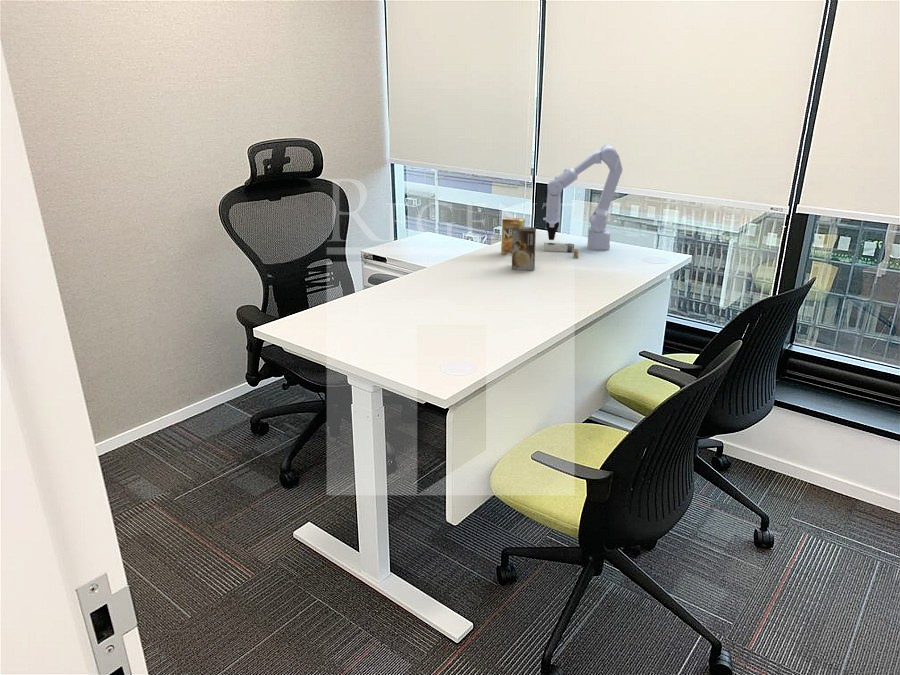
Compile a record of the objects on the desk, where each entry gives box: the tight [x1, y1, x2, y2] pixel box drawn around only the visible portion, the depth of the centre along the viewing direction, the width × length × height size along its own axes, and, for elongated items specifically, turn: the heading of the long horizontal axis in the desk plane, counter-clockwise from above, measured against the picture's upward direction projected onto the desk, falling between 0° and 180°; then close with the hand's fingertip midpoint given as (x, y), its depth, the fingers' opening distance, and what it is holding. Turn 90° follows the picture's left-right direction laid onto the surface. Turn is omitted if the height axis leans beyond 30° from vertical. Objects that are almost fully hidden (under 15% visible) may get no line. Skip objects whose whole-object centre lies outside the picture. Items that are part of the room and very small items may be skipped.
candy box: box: [500, 216, 526, 255], centre depth 300 cm, size 9×4×15 cm, turn 70°
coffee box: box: [511, 226, 537, 271], centre depth 282 cm, size 9×6×16 cm
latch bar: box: [543, 242, 575, 253], centre depth 302 cm, size 13×4×3 cm, turn 80°
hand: (551, 239), depth 307 cm, fingers closed
